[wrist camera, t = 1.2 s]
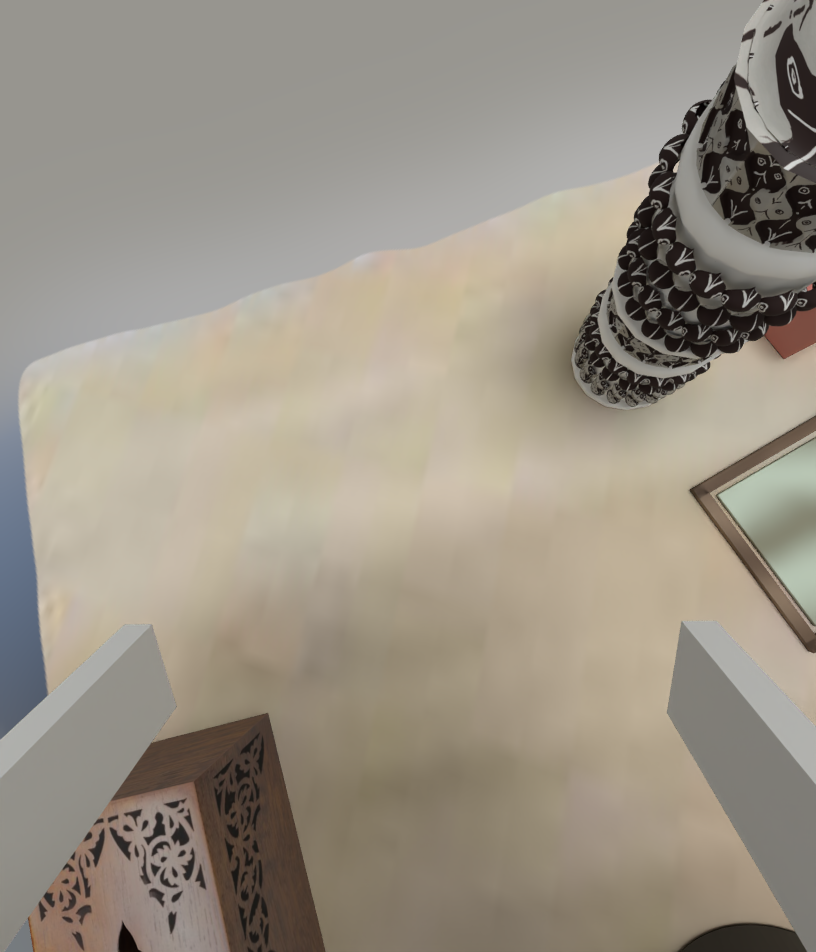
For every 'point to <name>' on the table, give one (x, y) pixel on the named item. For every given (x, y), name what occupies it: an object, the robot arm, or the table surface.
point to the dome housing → (794, 333)
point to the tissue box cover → (188, 857)
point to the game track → (774, 522)
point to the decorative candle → (716, 226)
